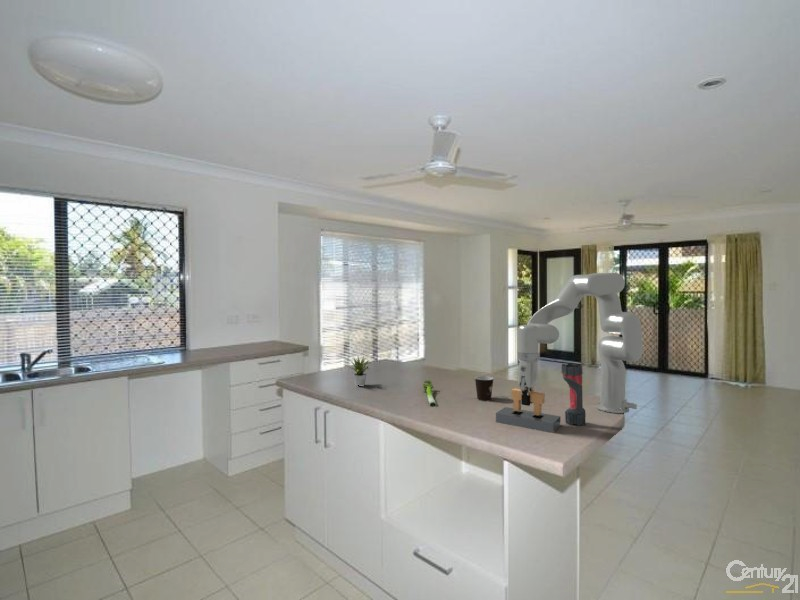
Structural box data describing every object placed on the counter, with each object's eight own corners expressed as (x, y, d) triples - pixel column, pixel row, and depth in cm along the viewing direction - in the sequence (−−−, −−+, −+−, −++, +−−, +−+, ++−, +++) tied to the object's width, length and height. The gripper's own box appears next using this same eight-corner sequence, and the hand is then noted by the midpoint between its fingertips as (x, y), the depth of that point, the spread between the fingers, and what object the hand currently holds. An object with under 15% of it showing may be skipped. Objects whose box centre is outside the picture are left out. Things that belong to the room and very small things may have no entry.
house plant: (372, 389, 218) (372, 358, 217) (346, 389, 218) (345, 358, 217) (374, 383, 232) (374, 353, 232) (349, 383, 232) (349, 354, 232)
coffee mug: (482, 402, 193) (482, 380, 192) (471, 398, 200) (471, 377, 200) (502, 399, 198) (502, 378, 198) (490, 394, 206) (490, 374, 205)
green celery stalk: (425, 410, 187) (420, 389, 217) (440, 412, 187) (433, 390, 217) (427, 397, 187) (422, 377, 216) (442, 399, 187) (435, 379, 217)
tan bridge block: (543, 414, 160) (544, 393, 160) (541, 416, 158) (542, 395, 157) (513, 407, 167) (514, 388, 167) (510, 409, 165) (511, 389, 164)
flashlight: (556, 421, 165) (557, 363, 164) (571, 419, 168) (572, 362, 167) (572, 427, 157) (572, 367, 157) (587, 424, 161) (587, 365, 160)
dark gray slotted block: (560, 425, 160) (560, 416, 160) (553, 432, 152) (553, 423, 152) (505, 415, 173) (505, 407, 173) (495, 421, 165) (495, 413, 165)
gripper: (530, 360, 153) (530, 410, 153) (543, 355, 166) (543, 400, 167) (510, 358, 157) (510, 407, 158) (525, 353, 170) (524, 398, 171)
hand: (527, 403), depth 162 cm, fingers closed on tan bridge block, 3 cm apart
